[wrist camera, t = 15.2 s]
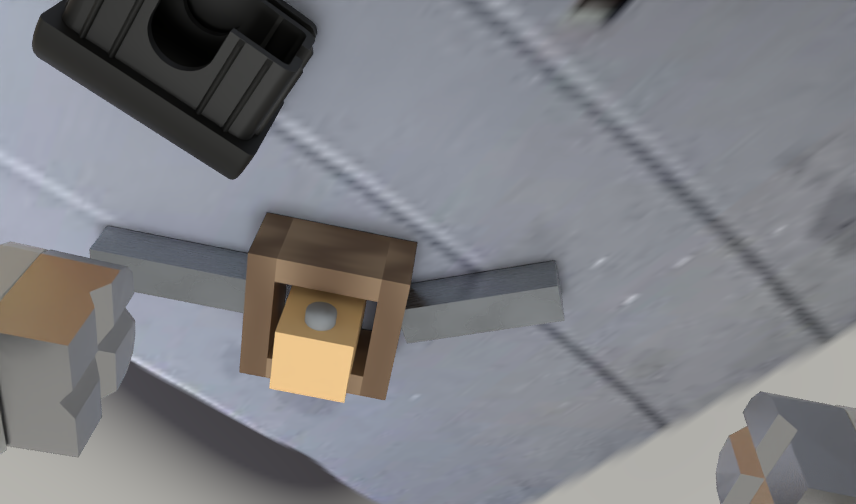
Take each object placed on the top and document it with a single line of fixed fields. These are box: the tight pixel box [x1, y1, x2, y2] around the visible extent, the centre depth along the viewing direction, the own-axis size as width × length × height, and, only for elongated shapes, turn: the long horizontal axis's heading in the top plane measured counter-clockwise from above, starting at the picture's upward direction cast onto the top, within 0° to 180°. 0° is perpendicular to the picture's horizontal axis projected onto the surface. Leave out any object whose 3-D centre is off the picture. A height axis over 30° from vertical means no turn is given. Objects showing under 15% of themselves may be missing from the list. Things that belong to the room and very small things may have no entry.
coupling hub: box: [240, 213, 417, 400], centre depth 45 cm, size 8×8×4 cm
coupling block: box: [270, 285, 367, 403], centre depth 44 cm, size 4×5×7 cm
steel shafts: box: [90, 226, 564, 343], centre depth 45 cm, size 26×6×2 cm, turn 79°
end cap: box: [32, 0, 317, 180], centre depth 36 cm, size 10×7×7 cm
